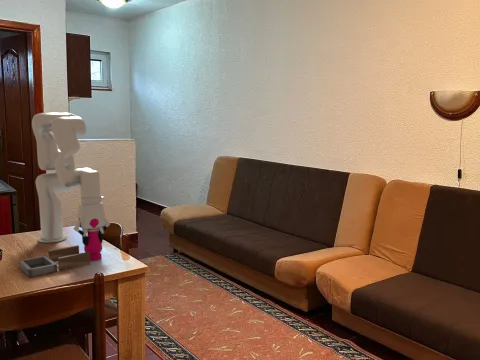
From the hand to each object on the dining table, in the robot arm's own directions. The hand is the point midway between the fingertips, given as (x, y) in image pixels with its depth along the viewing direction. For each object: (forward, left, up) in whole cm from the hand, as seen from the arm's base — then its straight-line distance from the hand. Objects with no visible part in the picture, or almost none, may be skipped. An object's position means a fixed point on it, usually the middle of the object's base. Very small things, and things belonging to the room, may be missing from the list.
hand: (93, 243), depth 191 cm
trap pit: (0, -22, -6) cm, 23 cm away
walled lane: (0, -10, -6) cm, 12 cm away
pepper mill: (0, 0, -7) cm, 7 cm away
